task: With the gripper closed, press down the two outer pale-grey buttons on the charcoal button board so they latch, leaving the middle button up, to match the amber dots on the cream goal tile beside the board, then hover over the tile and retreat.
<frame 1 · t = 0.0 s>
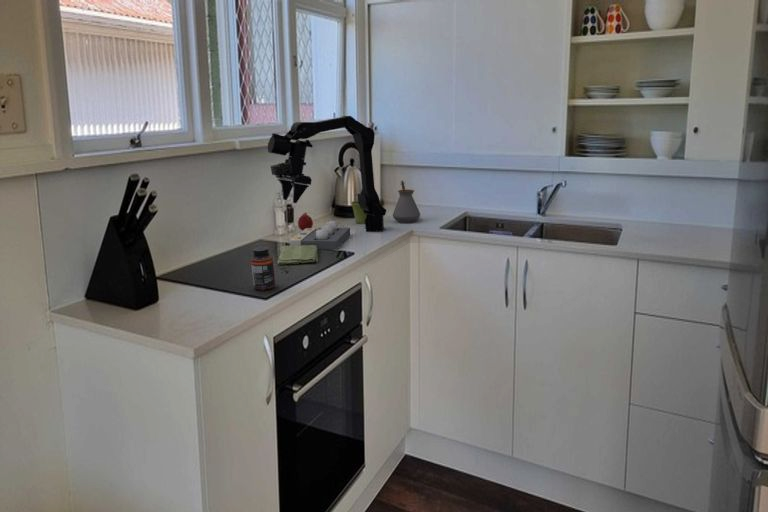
hand: (289, 201, 214), 15 cm above the worktop, tool pointing down, fingers open, 9 cm apart
button c: (321, 235, 210), point 4 cm above the worktop, slide at 0.0 cm
button a: (331, 227, 223), point 4 cm above the worktop, slide at 0.0 cm
button b: (327, 231, 217), point 4 cm above the worktop, slide at 0.0 cm
coffee pot: (405, 219, 254), on the worktop
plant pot: (362, 222, 250), on the worktop
supplement bottle: (264, 288, 167), on the worktop
washcloth: (299, 259, 198), on the worktop
goal tile: (303, 242, 219), on the worktop
board: (327, 242, 218), on the worktop
onion: (306, 232, 235), on the worktop
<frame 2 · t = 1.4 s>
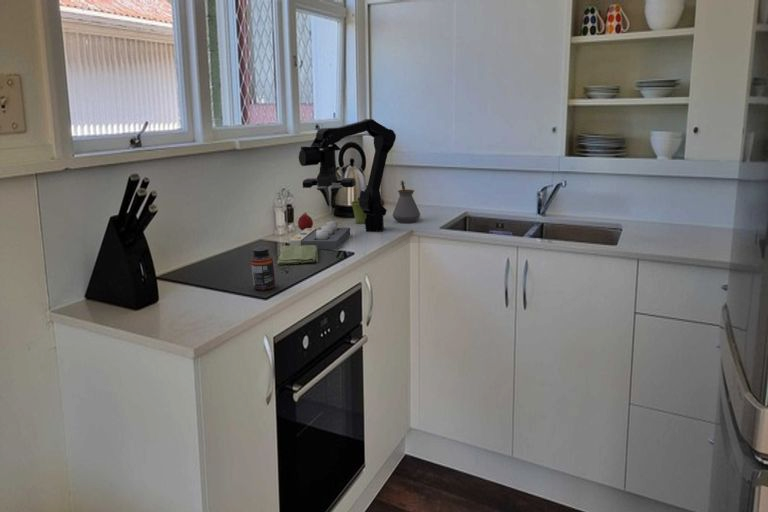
hand: (330, 206, 221), 12 cm above the worktop, tool pointing down, fingers closed
nothing on the worktop moved.
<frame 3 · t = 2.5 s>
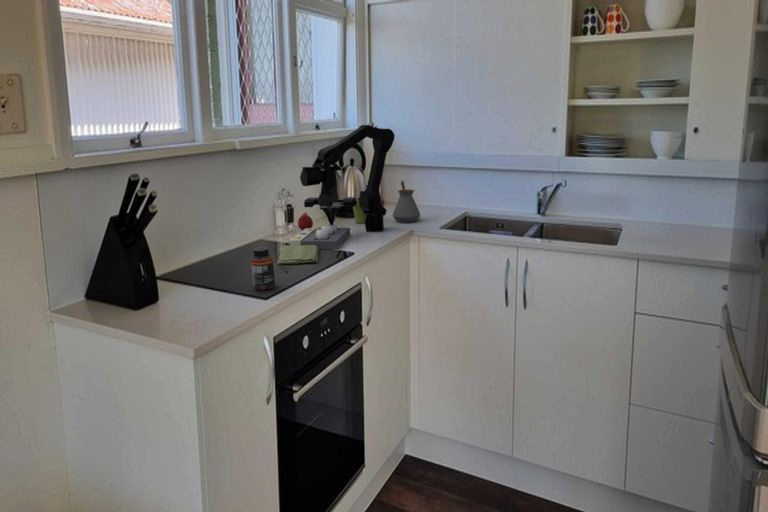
hand: (331, 225, 223), 5 cm above the worktop, tool pointing down, fingers closed, pressing on button a
button a: (332, 229, 224), point 3 cm above the worktop, slide at 1.1 cm, touching gripper
everything else where it was.
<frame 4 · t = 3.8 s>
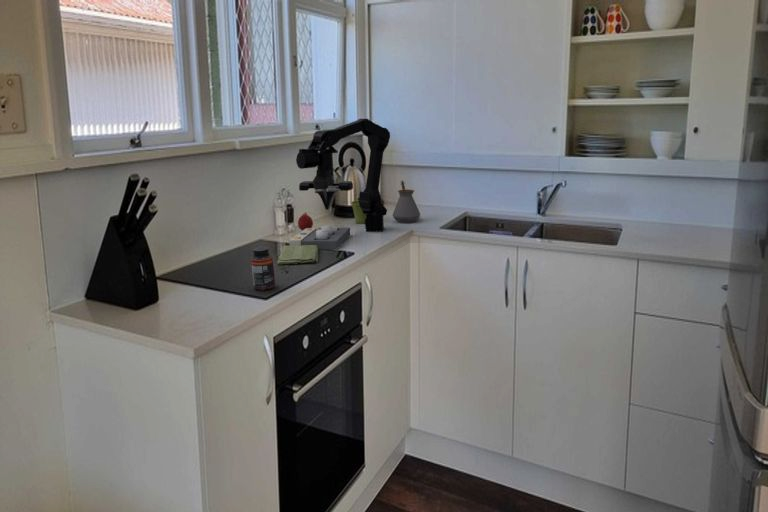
hand: (327, 209, 218), 11 cm above the worktop, tool pointing down, fingers closed
button a: (332, 232, 224), point 2 cm above the worktop, slide at 2.0 cm
everything else where it was.
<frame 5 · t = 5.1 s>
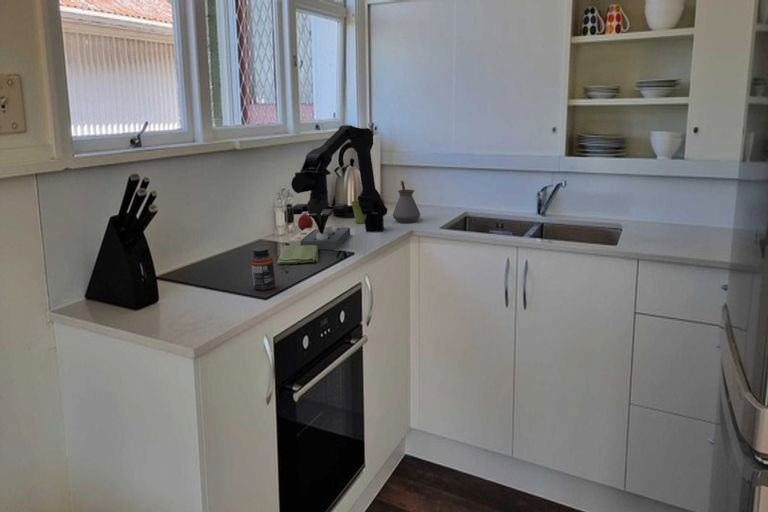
hand: (321, 233, 210), 5 cm above the worktop, tool pointing down, fingers closed, pressing on button c
button c: (322, 238, 210), point 3 cm above the worktop, slide at 1.0 cm, touching gripper
everything else where it was.
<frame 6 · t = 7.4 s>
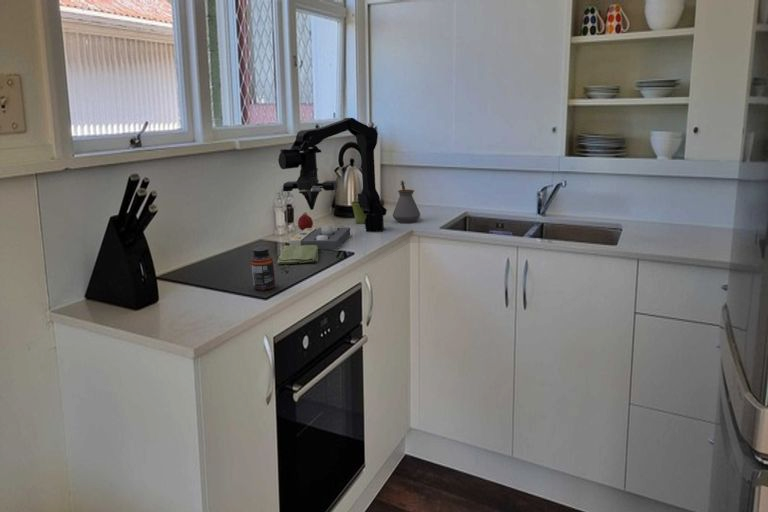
hand: (312, 209, 216), 12 cm above the worktop, tool pointing down, fingers closed
button c: (322, 241, 210), point 2 cm above the worktop, slide at 2.0 cm
everything else where it was.
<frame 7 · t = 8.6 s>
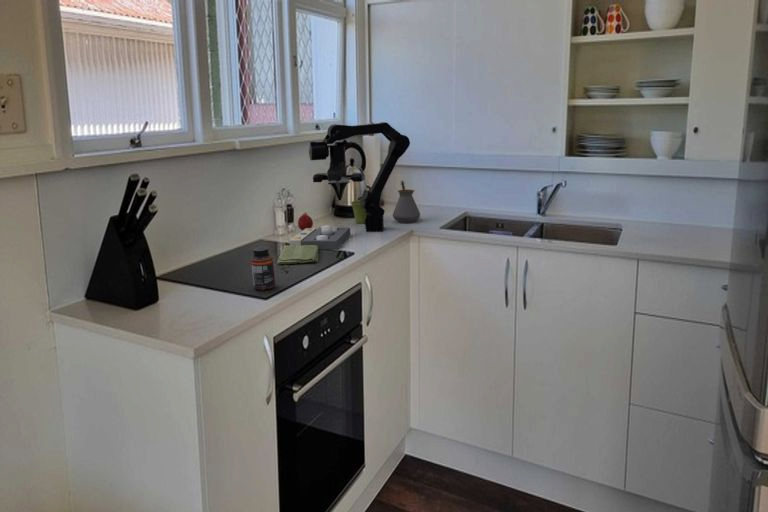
hand: (340, 200, 227), 13 cm above the worktop, tool pointing down, fingers closed
nothing on the worktop moved.
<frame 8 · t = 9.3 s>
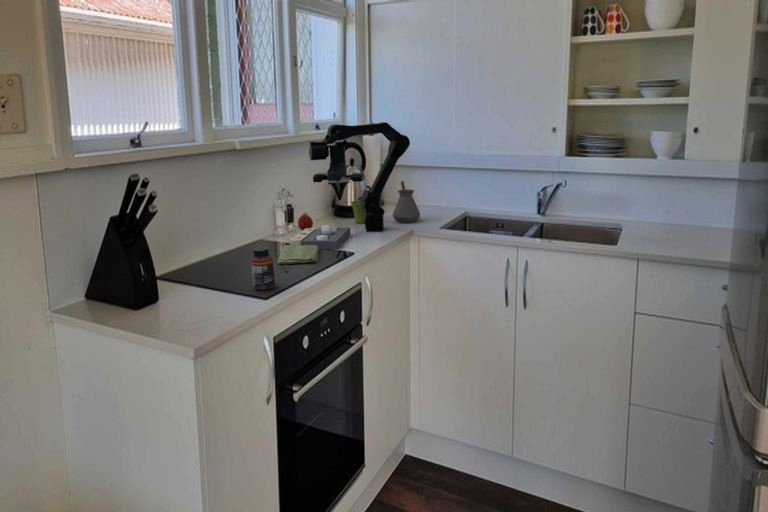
hand: (340, 200, 227), 13 cm above the worktop, tool pointing down, fingers closed
nothing on the worktop moved.
at the end: button a slide at 2.0 cm; button c slide at 2.0 cm; button b slide at 0.0 cm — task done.
